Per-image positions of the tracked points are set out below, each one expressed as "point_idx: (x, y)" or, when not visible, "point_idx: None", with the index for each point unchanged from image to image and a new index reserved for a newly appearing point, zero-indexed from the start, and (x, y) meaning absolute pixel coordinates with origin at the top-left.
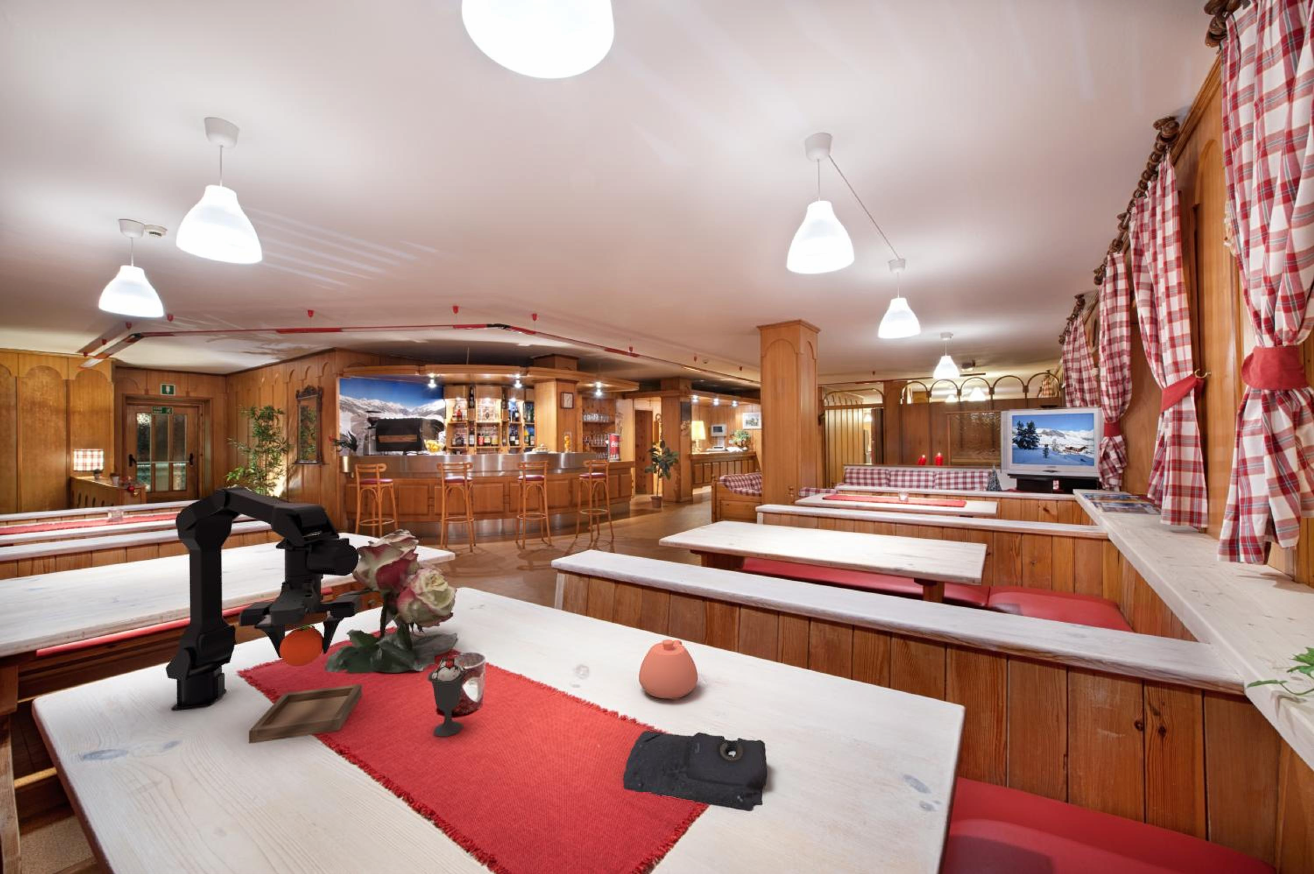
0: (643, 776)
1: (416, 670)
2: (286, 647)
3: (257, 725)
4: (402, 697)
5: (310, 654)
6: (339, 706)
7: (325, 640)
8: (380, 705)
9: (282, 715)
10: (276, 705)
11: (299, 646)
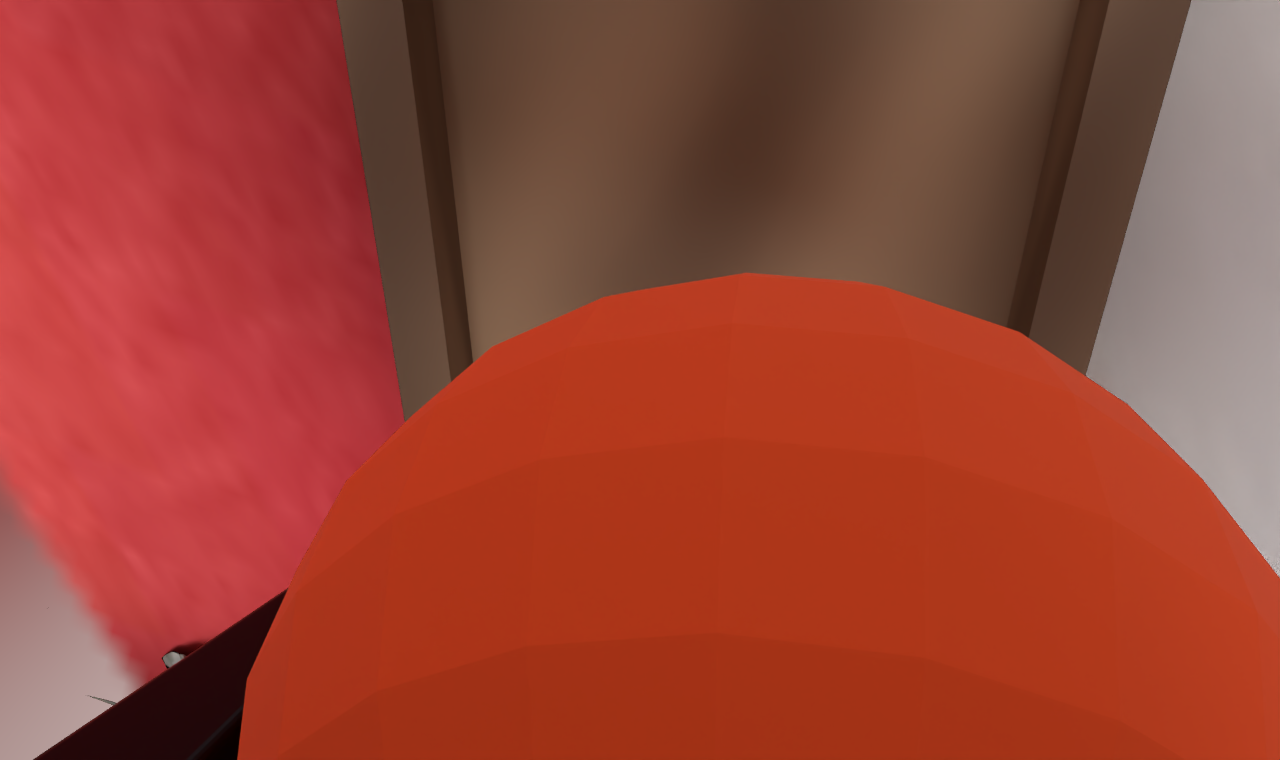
0: None
1: (183, 655)
2: (1136, 571)
3: None
4: (107, 320)
5: (457, 377)
6: (518, 284)
7: (145, 743)
8: (217, 240)
9: (966, 277)
10: None
11: (645, 488)
